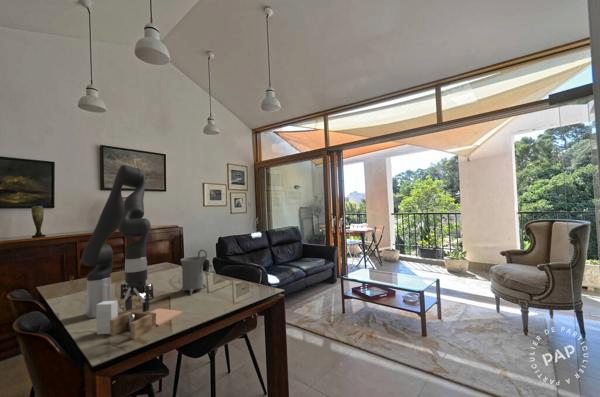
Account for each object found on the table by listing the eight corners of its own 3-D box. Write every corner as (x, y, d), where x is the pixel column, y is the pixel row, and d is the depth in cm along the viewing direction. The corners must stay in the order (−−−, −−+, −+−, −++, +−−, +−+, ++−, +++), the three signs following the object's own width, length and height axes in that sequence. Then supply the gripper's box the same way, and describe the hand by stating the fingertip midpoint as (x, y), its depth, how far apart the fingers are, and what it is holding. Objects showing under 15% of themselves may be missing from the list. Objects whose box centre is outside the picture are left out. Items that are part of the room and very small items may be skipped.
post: (126, 330, 109) (126, 315, 109) (132, 327, 111) (131, 313, 111) (131, 330, 108) (130, 316, 108) (136, 328, 110) (136, 313, 110)
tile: (132, 322, 116) (132, 320, 116) (158, 310, 130) (158, 308, 130) (158, 326, 112) (158, 324, 112) (182, 312, 125) (182, 311, 125)
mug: (172, 294, 153) (171, 251, 154) (189, 286, 168) (188, 247, 168) (199, 296, 148) (198, 251, 149) (215, 288, 162) (214, 247, 163)
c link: (132, 324, 114) (132, 310, 115) (156, 327, 110) (155, 313, 111) (110, 335, 105) (109, 319, 105) (134, 339, 101) (134, 323, 101)
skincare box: (118, 329, 110) (118, 300, 110) (111, 334, 106) (111, 304, 106) (103, 329, 110) (103, 300, 110) (96, 334, 106) (95, 304, 106)
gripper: (158, 267, 105) (159, 308, 105) (131, 266, 109) (132, 305, 109) (141, 272, 98) (143, 316, 97) (113, 270, 102) (114, 312, 102)
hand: (137, 310), depth 103 cm, fingers open, 8 cm apart
